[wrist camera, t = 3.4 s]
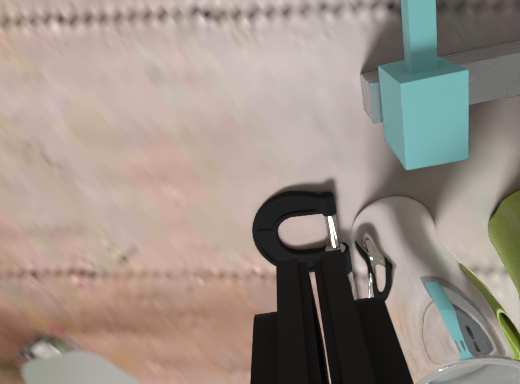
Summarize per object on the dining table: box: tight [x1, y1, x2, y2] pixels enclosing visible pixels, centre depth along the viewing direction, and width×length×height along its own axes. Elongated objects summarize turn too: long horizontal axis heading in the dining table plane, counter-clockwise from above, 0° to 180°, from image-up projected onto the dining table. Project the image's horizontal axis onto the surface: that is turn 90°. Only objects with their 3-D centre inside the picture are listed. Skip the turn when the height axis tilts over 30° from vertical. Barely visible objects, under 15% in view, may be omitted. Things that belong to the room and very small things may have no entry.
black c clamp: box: [252, 191, 357, 300], centre depth 33 cm, size 15×7×2 cm, turn 13°
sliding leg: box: [378, 0, 469, 170], centre depth 21 cm, size 3×13×6 cm, turn 13°
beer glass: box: [351, 196, 520, 384], centre depth 25 cm, size 7×7×15 cm
